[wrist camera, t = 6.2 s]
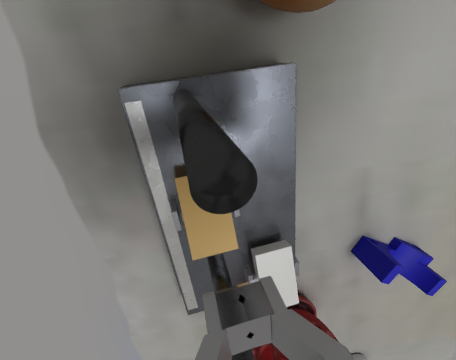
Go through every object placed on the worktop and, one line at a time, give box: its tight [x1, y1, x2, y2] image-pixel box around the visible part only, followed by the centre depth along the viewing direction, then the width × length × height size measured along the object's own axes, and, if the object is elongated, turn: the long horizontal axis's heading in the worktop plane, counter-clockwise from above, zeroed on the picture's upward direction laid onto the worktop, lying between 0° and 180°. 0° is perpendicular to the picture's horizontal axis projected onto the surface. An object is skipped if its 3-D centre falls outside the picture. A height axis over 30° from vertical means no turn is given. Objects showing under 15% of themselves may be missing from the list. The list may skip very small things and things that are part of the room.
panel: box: [117, 63, 299, 360], centre depth 19 cm, size 26×14×18 cm, turn 7°
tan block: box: [175, 176, 239, 260], centre depth 21 cm, size 7×4×2 cm, turn 7°
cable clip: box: [351, 236, 447, 296], centre depth 35 cm, size 12×4×6 cm, turn 63°
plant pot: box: [252, 295, 338, 360], centre depth 33 cm, size 13×13×12 cm
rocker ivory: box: [251, 240, 299, 307], centre depth 27 cm, size 7×4×2 cm, turn 7°
